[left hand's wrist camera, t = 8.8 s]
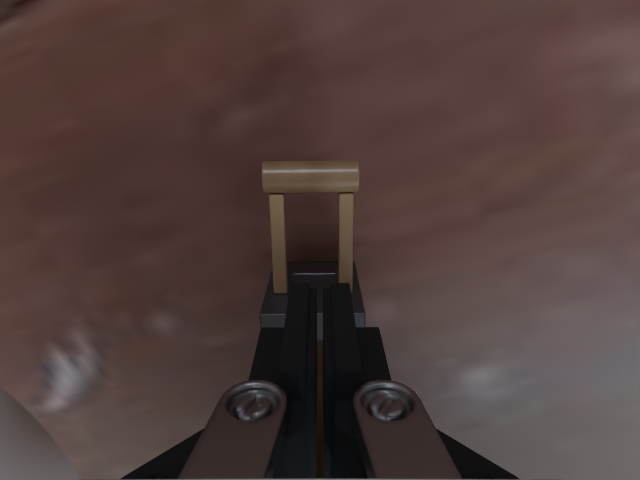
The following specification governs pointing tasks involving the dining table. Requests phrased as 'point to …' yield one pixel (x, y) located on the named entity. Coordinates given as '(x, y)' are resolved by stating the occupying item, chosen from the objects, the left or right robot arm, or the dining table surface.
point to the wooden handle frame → (319, 274)
